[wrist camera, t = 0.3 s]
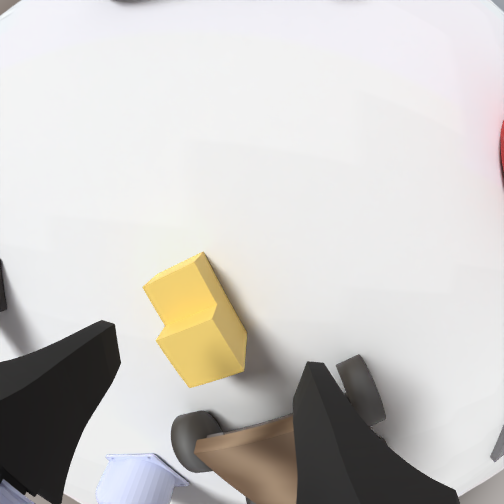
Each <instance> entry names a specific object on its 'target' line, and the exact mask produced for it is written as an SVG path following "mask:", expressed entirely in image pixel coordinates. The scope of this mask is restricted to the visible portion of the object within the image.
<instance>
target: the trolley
mask: <svg viewBox="0 0 504 504" xmlns="http://www.w3.org/2000/svg"><path fill="white" fill-rule="evenodd" d="M336 367H337V370H338V372H339V375H340V377H341V380H342V382H343V385H344V387H345V390H346V392H347V393H344V395H345V396H346V398H347V399H348V401H349V402H350V403H351V405H352V406H353V408H354V409H355V410H356V412H357V413H358V414H359V415H360V417H361V418H362V419H363V420H364V422H365V423H366V424H367V425H368V426H369V427H370V426H372V425H374V424H376V423H378V422H380V421H383V420H385V419H386V416H385V411H384V408H383V404H382V401H381V398H380V396H379V393H378V390H377V388H376V385H375V383H374V381H373V378H372V376H371V374H370V372H369V370H368V368H367V366H366V364H365V362H364V360H363V359H362V357H361V356H360V355H359V354H358V355H356V356H354V357H352V358H350V359H348V360H346V361H344V362H341V363H339V364H337V365H336ZM381 440H382V441H383V442H384V443H385V444H386V442H385V440H384V438H382V439H381ZM171 442H172V447H173V450H174V452H175V455H176V457H177V459H178V460H179V462H180V463H181V464H182V465H183V466H184V467H185V468H186V469H187V470H189V471H191V472H194V473H200V472H209V471H214V472H215V473H216V474H218V475H219V476H220V477H221V478H222V479H224V480H225V481H226V482H227V483H229V484H230V485H231V486H233V487H234V488H235V489H236V490H238V491H239V492H240V493H242V494H243V495H244V496H246V502H247V504H296V500H297V462H296V451H295V441H294V430H293V413H292V414H289V415H286V416H283V417H280V418H277V419H274V420H270V421H267V422H264V423H260V424H257V425H253V426H249V427H245V428H241V429H237V430H233V431H229V432H222V430H221V428H220V426H219V425H218V423H217V421H216V420H215V419H214V418H213V417H212V416H211V415H210V414H209V413H207V412H205V411H197V412H193V413H188V414H184V415H180V416H178V417H177V418H176V419H175V420H174V422H173V424H172V428H171ZM386 445H387V444H386Z"/></svg>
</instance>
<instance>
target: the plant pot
mask: <svg viewBox="0 0 504 504" xmlns="http://www.w3.org/2000/svg"><path fill="white" fill-rule="evenodd" d="M501 158H502V165H503V170H504V121H503V124H502V129H501Z"/></svg>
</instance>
